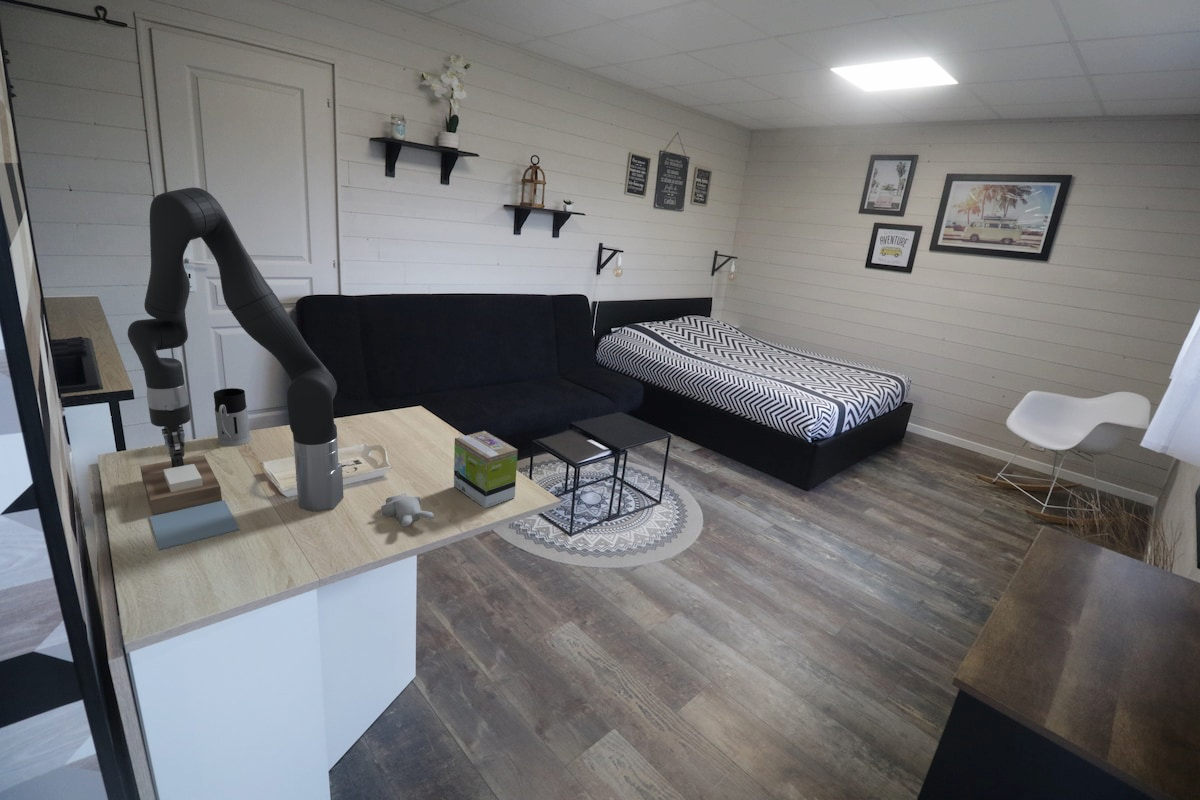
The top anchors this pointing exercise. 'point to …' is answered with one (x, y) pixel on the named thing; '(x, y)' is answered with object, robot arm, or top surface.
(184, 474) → the white rectangular block
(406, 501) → the grey animal figure
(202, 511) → the mat
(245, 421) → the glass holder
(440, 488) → the top surface
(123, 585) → the top surface
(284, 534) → the top surface
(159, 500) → the deck
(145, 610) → the top surface
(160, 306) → the robot arm
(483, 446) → the tea box
